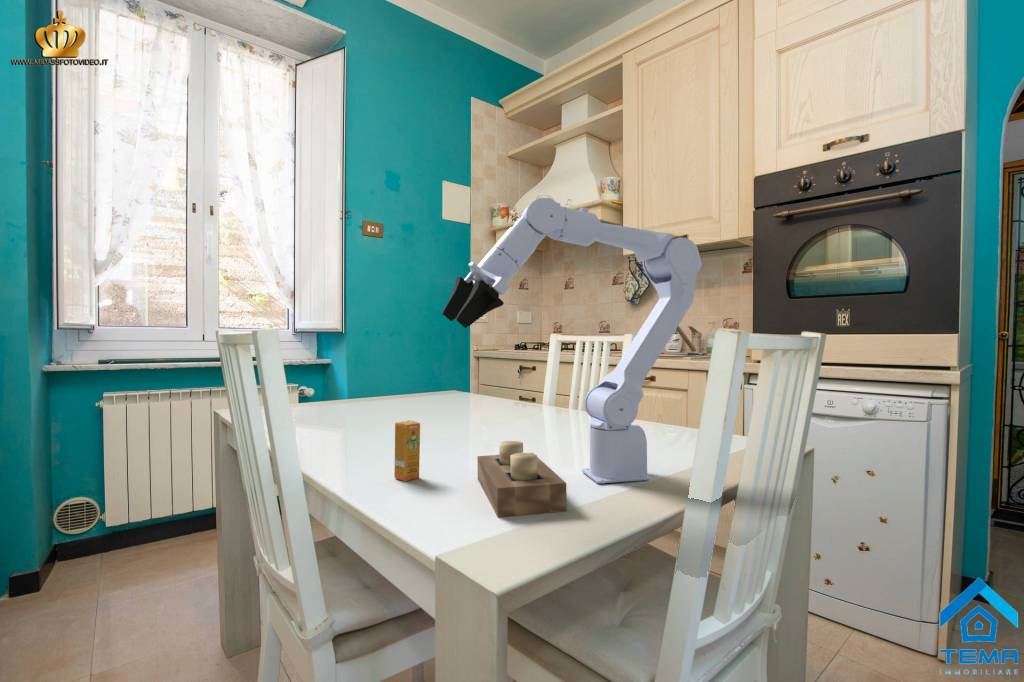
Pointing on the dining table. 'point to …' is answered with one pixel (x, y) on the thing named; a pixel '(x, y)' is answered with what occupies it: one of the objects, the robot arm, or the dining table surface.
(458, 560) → the dining table surface
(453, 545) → the dining table surface
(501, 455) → the peg
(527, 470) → the peg
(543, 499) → the wooden peg hole block
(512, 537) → the dining table surface
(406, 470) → the supplement box
